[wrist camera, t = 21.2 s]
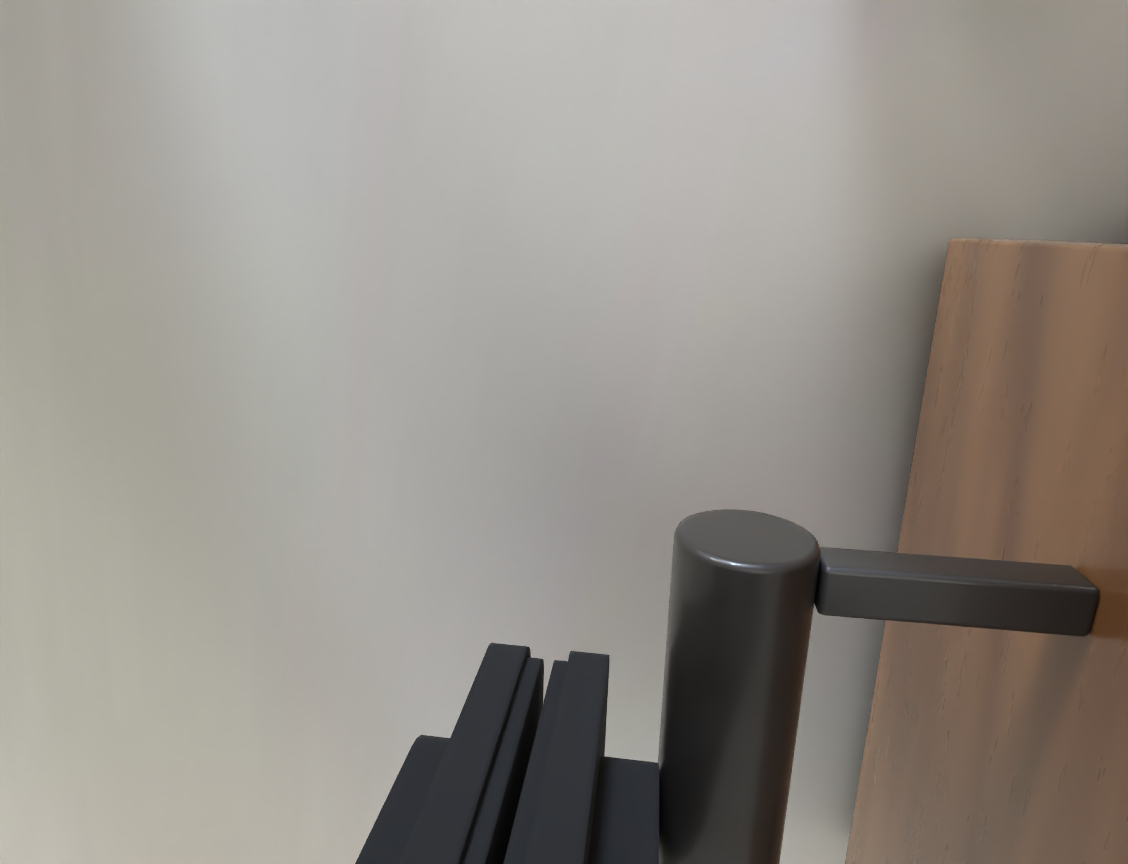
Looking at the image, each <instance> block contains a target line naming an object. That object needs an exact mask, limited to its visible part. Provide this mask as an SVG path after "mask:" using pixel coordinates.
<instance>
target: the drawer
mask: <svg viewBox="0 0 1128 864" xmlns="http://www.w3.org/2000/svg"><path fill="white" fill-rule="evenodd" d="M814 604H815V606H816V609H817V611H818V613H820V614H822V615H830V616H842V617H853V618H865V619H877V620H886V622H885V628H884V634H883V640H882V646H881V652H880V658H879V664H878V670H877V676H876V682H875V688H874V694H873V700H872V706H871V711H870V717H869V723H868V729H867V735H866V741H865V747H864V753H863V759H862V765H861V771H860V777H859V783H858V789H857V795H856V801H855V807H854V813H853V819H852V825H851V831H850V837H849V843H848V849H847V855H846V861H845V864H1128V244H1116V243H1092V242H1069V241H1045V240H1022V239H980V238H952V239H950V241H949V244H948V250H947V256H946V262H945V268H944V274H943V280H942V286H941V292H940V298H939V304H938V310H937V316H936V322H935V328H934V334H933V340H932V346H931V352H930V358H929V364H928V370H927V376H926V382H925V388H924V394H923V400H922V406H921V412H920V418H919V424H918V430H917V436H916V442H915V448H914V454H913V460H912V466H911V472H910V478H909V484H908V490H907V496H906V502H905V508H904V514H903V520H902V526H901V532H900V538H899V544H898V550H897V553H893V552H880V551H866V550H852V549H839V548H825V547H819V545H818V542H817V540H816V538H815V537H814V536H813V535H812V534H811V533H810V532H809V531H807V530H806V529H804V528H803V527H801V526H799V525H797V524H795V523H793V522H791V521H788V520H786V519H783V518H780V517H776V516H773V515H769V514H765V513H760V512H754V511H746V510H712V511H705V512H700V513H696V514H693V515H691V516H689V517H687V518H685V519H684V520H682V521H681V522H680V523H679V525H678V526H677V528H676V530H675V532H674V544H673V558H672V572H671V586H670V600H669V614H668V629H667V643H666V657H665V671H664V685H663V699H662V714H661V728H660V742H659V756H658V763H659V864H779V861H780V854H781V846H782V839H783V831H784V824H785V816H786V809H787V801H788V794H789V787H790V779H791V772H792V764H793V757H794V749H795V742H796V734H797V727H798V720H799V712H800V705H801V697H802V690H803V682H804V675H805V667H806V660H807V652H808V645H809V638H810V630H811V623H812V615H813V608H814Z"/></svg>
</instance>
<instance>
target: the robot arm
mask: <svg viewBox="0 0 1128 864" xmlns="http://www.w3.org/2000/svg"><path fill="white" fill-rule="evenodd" d="M608 677H609V655H605V654H595V653H585V652H575V651H571V652H570V655H569V659H568V662H567V661H558V660H555V661H554V663H553V667H552V671H551V675H550V679H549V683H548V687H547V691H546V695H545V699H544V703H543V680H544V662H543V659H538V658H531V653H530V648H529V647H526V646H516V645H506V644H496V643H491V644H490V645H489V646H488V648H487V651H486V653H485V656H484V658H483V661H482V663H481V665H480V668H479V670H478V673H477V675H476V677H475V680H474V682H473V685H472V687H471V690H470V692H469V694H468V697H467V699H466V702H465V704H464V706H463V709H462V711H461V714H460V716H459V719H458V721H457V723H456V726H455V728H454V731H453V733H452V735H451V738H442V737H434V736H425V735H421V736H419V737H418V738H417V739H416V740H415V742H414V744H413V745H412V747H411V749H410V751H409V753H408V755H407V757H406V759H405V762H404V764H403V766H402V768H401V770H400V772H399V774H398V776H397V778H396V780H395V782H394V784H393V786H392V789H391V791H390V793H389V795H388V797H387V799H386V801H385V803H384V805H383V807H382V809H381V811H380V813H379V816H378V818H377V820H376V822H375V824H374V826H373V828H372V830H371V832H370V834H369V836H368V838H367V840H366V843H365V845H364V847H363V849H362V851H361V853H360V855H359V857H358V859H357V861H356V863H355V864H659V763H654V762H646V761H637V760H629V759H620V758H612V757H604V751H605V732H606V714H607V696H608Z"/></svg>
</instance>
